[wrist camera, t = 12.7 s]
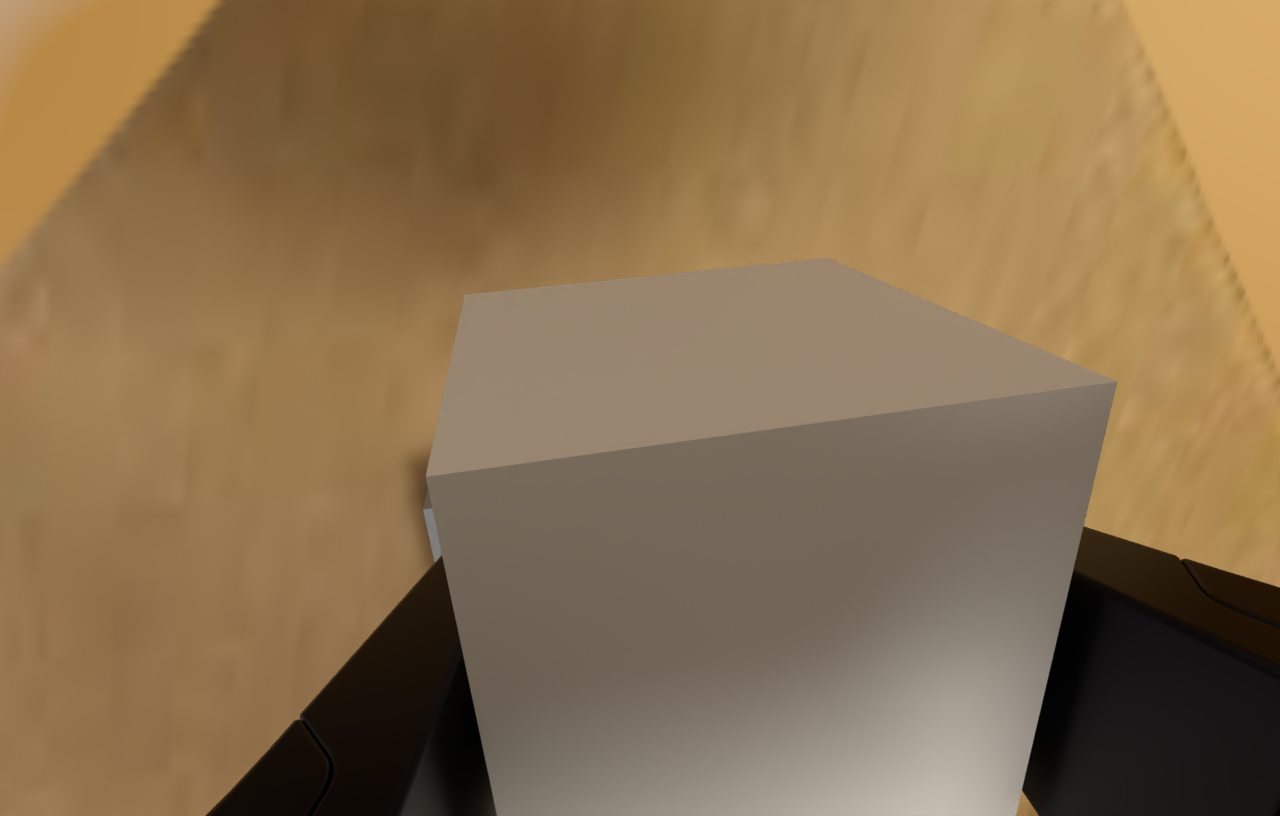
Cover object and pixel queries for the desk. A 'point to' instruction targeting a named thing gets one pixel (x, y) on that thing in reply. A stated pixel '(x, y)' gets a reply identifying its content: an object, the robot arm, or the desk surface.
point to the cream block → (757, 543)
